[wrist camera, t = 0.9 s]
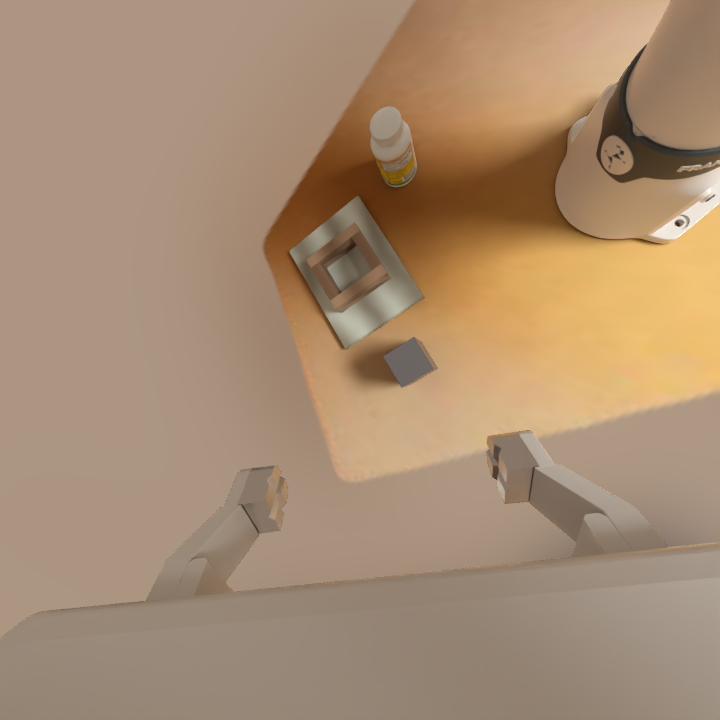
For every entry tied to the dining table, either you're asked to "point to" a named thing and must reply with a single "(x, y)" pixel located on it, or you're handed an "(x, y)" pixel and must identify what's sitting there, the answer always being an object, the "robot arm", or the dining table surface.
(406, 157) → the supplement bottle
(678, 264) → the dining table surface
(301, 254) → the socket holder
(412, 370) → the plug block
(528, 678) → the robot arm
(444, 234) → the dining table surface
